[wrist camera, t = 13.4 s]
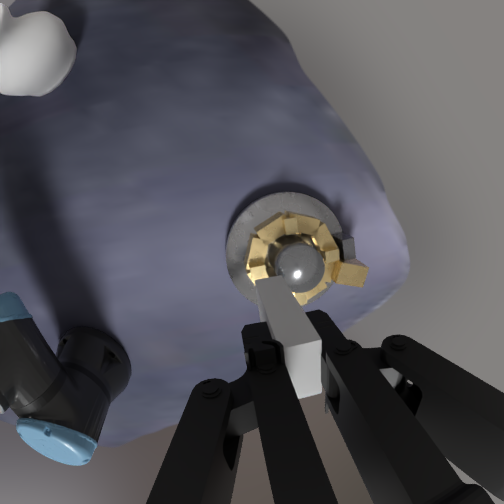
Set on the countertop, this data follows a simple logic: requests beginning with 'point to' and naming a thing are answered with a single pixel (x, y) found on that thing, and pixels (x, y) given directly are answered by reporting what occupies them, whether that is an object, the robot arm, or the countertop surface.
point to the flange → (284, 245)
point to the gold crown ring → (294, 223)
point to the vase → (33, 53)
